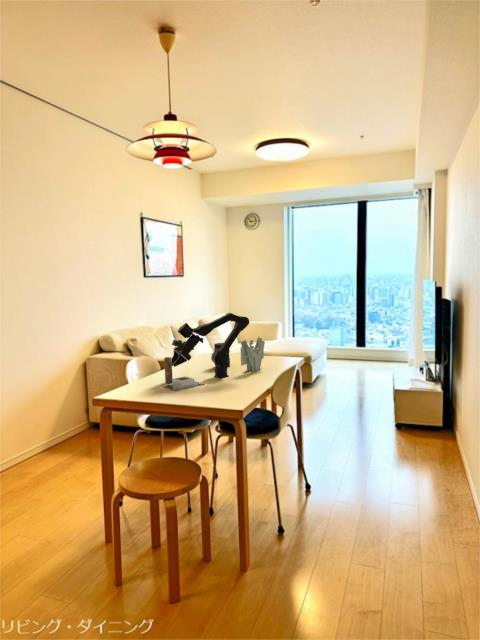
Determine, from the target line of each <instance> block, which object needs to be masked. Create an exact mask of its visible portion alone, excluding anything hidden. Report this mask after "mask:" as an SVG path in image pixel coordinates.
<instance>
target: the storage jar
mask: <svg viewBox="0 0 480 640" xmlns="http://www.w3.org/2000/svg"><path fill="white" fill-rule="evenodd" d="M223 343H224V342H217V343H213V344H214V349H213V351H214V350H215V349H217V350H218V349H220V348H221V346H222V345H223ZM230 349H231V347H230V348H229V350H228V351H227V354H226V358H225V361H226V362H227V363H228V366H227V367H229V368H230V367H231V358H230ZM214 365H215V364H214ZM215 366H216V365H215ZM215 366H214V367H215Z"/></svg>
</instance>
